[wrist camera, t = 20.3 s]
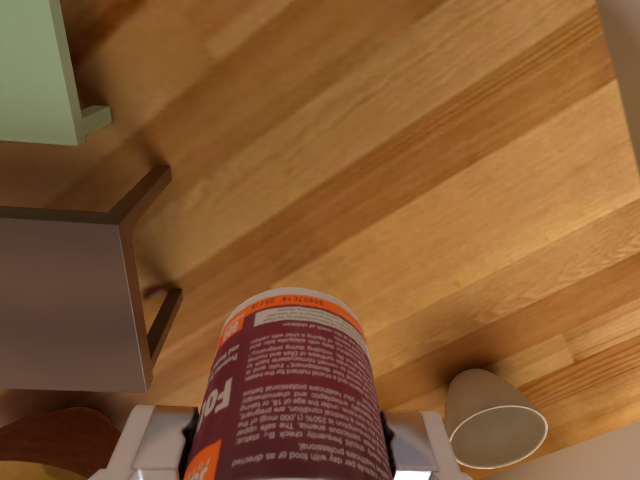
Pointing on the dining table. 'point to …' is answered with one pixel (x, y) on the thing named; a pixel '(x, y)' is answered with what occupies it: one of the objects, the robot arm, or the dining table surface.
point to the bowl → (57, 445)
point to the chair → (40, 78)
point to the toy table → (78, 297)
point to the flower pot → (491, 421)
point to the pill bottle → (290, 395)
